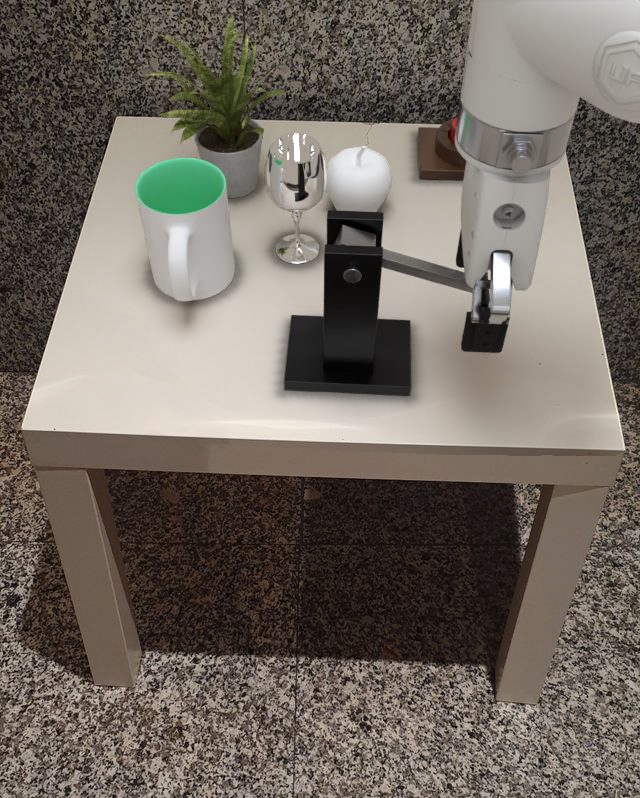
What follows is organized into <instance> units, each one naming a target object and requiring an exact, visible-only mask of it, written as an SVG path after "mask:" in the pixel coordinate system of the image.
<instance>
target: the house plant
mask: <svg viewBox="0 0 640 798" xmlns="http://www.w3.org/2000/svg"><path fill="white" fill-rule="evenodd" d="M234 22H235V17H234V13H232V14H231V15H230V17H229V19H228V21H227V24H226V27H225V32H224V37H223V38H224V40H223V44H222V45H223V46H222V54H221V61H222V64H221V68H220V69H221V71H220V77H219V79H218V77H217V76H216V74H215V73H214V72H213V71H212V70H211V69H210V68H209V67H207V66H206V65H205V64H204V62H203V60H202V57H201V56H200V55H199V54H198V52H197V51H196V50H195V49H193V48H192V47H191V46H189V44H186V43H183V42H179V41H177V40H175V39H174V38H171V37H170V36H168V35H165V34H160V33H158V35H159V36H161V37H163V38H164V39H166V40H167V41H169V42H170V43H171V44H173V45H174V46H175V47H176V49H178V50H179V51H180V52H181V53H182V55H183V56H184V57H185V60H187V62H188V64H189V65H190V67H191V70H192V71H193V72H194V73H195V75H196V76H197V78H198V79H199V80H200V82H201V84H202V85H203V87H204V88H205V90H206V91H207V93H206V92H205V91H204V90H203V89H202V88H201V87H200V86H199V85H197V84H196V83H194V82H193V81H191V80H190V79H189V78H187V77H186V76H184V75H182V74H179V73H176V72H173V71H158V72H156V71H155V72H148V73H145V74H144V76H166V78H160V79H158V81H163V80H166V81H167V80H170V81H175V82H177V84H178V85H180V87H181V88H182V89H183V90H184V91H180V92H177V93H175V94H174V95H172V97H171V98H170V99H169V102H170V101H190V102H192V103H193V104H194V105H195V106H196V107H197V108H198V109H176V110H175V109H174V110H170V111H165V112H162V113H160V114H158V115H156V117H158V116H160V117H162V119H167V118H177V119H179V120H177V121H176V122H175V124H174V125H173V127H172V129H171V131H170V134H169V135H171V134H172V133H173V132H175V131H178V130H182V129H183V131H182V134H181V137H180V138H181V139H180V143H179V144H180V146H181V145H182V143H183V142H184V141H186V140H188V139H190V138H192V137H194V142H195V145H196V148H197V151H198V155H199V157H200V160H204V161H207V162H209V163H211V164H213V165H215V166H216V167H218V168H219V169H220V170H221V171H222V173H223V174H224V176H225V179H226V187H227V197H228V199H237V198H242V197H245V196H247V195H249V194H251V193H252V192H253V191H255V189H256V187H257V185H258V178H259V169H260V161H261V160H260V159H261V152H262V142H263V140H264V132H265V129H264V128H263V127H261V125H260V124H259V123H258V121H256V120H255V119H253V118H252V117H251V115H250V114H251V112H252V111H253V110H254V108H255V107H256V106H257V105H258V104H260V103H261V102H263V101H265V100H267V99H268V98H271V97H275V96H276V95H286V93H285V92H284V91H282V90H281V89H279V90H278V89H273V90H269V91H267V92H266V90H265V89H264V88H263V87H259V86H260V85H261V84H262V83H263V82H264V80H265V79H266V78H267V77H268V76H269V75H270V74H271V73H272V72H273V71H274V70H275V69H276V67H274V68H273V69H272V70H270V71H269V72H267V74H265V76H264V77H263V79H262V80H261V81H260V82H258V84H257V85H256V86H255V87H254V88H253V90H252V91H250V92H249V93H247V90H248V86H249V82H250V78H251V76H252V72H253V69H254V65H255V61H256V53H257V43H258V41H257V38H256V39H255V41H254V44H253V46H252V50H251V52H250V54H249V35H248V33H246V36H245V39H244V44H243V47H242V51H241V56H240V57H241V58H240V63H239V67H238V71H237V73H236V74H234V73H233V62H234V61H233V60H234V59H233V58H234V48H235V44H236V41H237V39H238V38H239V37H240V35H241V32H242V30H240V31H238V32H237V33H235V25H234ZM248 55H249V57H248ZM195 59H196V60H195ZM279 66H280V65H279V64H278V65H277V67H279ZM168 77H169V78H168ZM187 83H188V84H190V85H191V86H192V87H194V88H195V89H197V90H198V91H199V92H197V91H193V90H192V88H191V87H190V85H188V84H187ZM255 92H264V94H262V95H260V96H259V97H258V98H257V99H256V100H255V101H254V102H253V103H252V104H251V105H250V106H249V108H248V110H247V112H246V113H245V110H246V108H247V107H248V105H249V103H250V101H251V100H252V97H253V96H254V94H255ZM197 95H198V96H197ZM199 96H200V97H201V98H202V99H201V98H200V97H199ZM203 99H204V100H205V101H206V102H207V103H208V104H209V105H207V103H206V102H204V101H203ZM209 106H210V107H211V108H212V109H211V108H210V107H209ZM244 113H245V114H244ZM243 114H244V115H243Z"/></svg>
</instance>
